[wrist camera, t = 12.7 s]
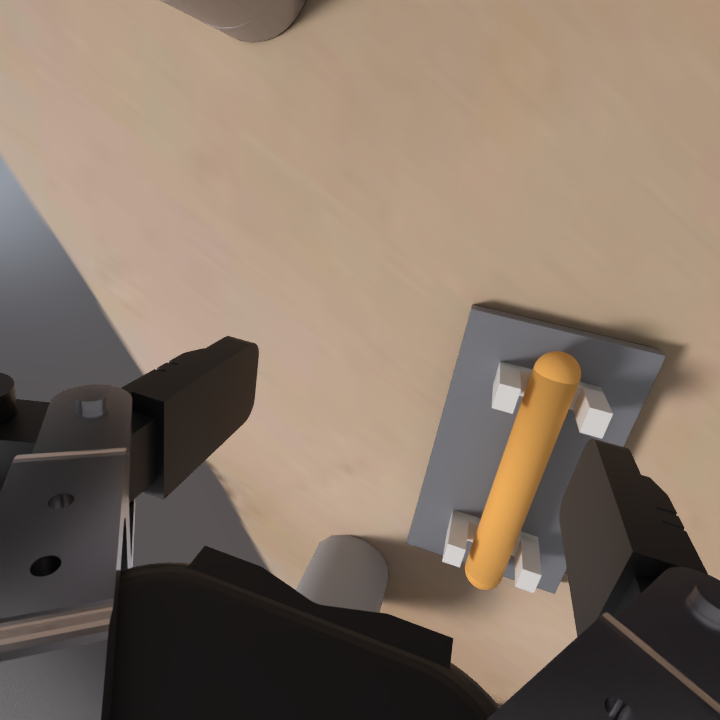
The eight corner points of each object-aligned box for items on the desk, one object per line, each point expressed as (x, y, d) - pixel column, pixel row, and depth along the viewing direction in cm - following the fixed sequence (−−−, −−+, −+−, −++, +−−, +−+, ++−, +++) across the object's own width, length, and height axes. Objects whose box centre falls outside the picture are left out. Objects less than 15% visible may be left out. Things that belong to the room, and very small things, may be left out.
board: (409, 532, 48) (397, 578, 42) (472, 304, 38) (467, 325, 33) (553, 581, 45) (559, 636, 40) (659, 349, 36) (687, 380, 30)
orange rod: (497, 576, 43) (495, 604, 41) (463, 563, 44) (458, 589, 41) (585, 351, 35) (590, 367, 32) (540, 340, 35) (541, 354, 32)
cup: (402, 589, 51) (380, 679, 42) (338, 603, 54) (305, 689, 45) (364, 526, 49) (332, 605, 40) (301, 544, 52) (258, 620, 43)
